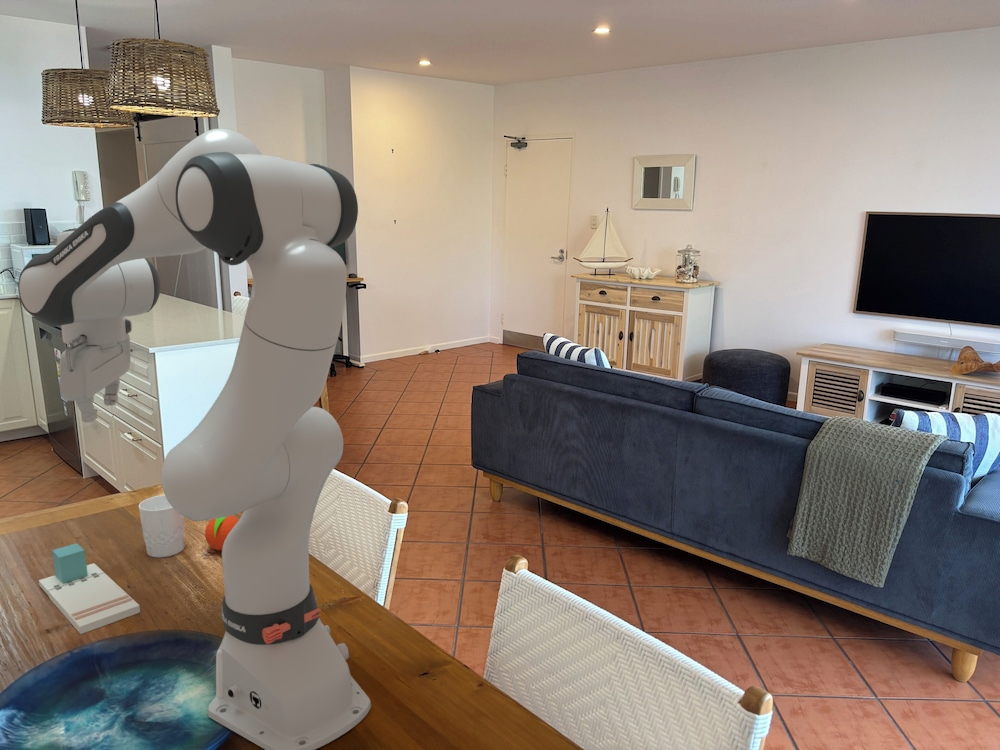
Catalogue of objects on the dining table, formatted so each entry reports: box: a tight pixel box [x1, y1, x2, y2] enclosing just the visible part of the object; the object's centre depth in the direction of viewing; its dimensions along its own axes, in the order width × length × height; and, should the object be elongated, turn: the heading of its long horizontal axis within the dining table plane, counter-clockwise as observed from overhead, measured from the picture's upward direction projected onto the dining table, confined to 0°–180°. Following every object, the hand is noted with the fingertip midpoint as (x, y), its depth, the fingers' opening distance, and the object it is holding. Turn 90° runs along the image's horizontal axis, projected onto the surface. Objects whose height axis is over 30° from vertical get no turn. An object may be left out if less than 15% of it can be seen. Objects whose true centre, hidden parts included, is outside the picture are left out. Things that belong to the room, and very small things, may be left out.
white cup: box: [138, 494, 186, 559], centre depth 143 cm, size 8×8×10 cm
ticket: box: [48, 572, 141, 635], centre depth 124 cm, size 16×9×1 cm, turn 47°
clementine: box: [204, 515, 239, 552], centre depth 143 cm, size 8×7×7 cm
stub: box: [38, 542, 105, 597], centre depth 130 cm, size 5×9×6 cm, turn 137°
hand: (100, 412), depth 121 cm, fingers open, 8 cm apart
